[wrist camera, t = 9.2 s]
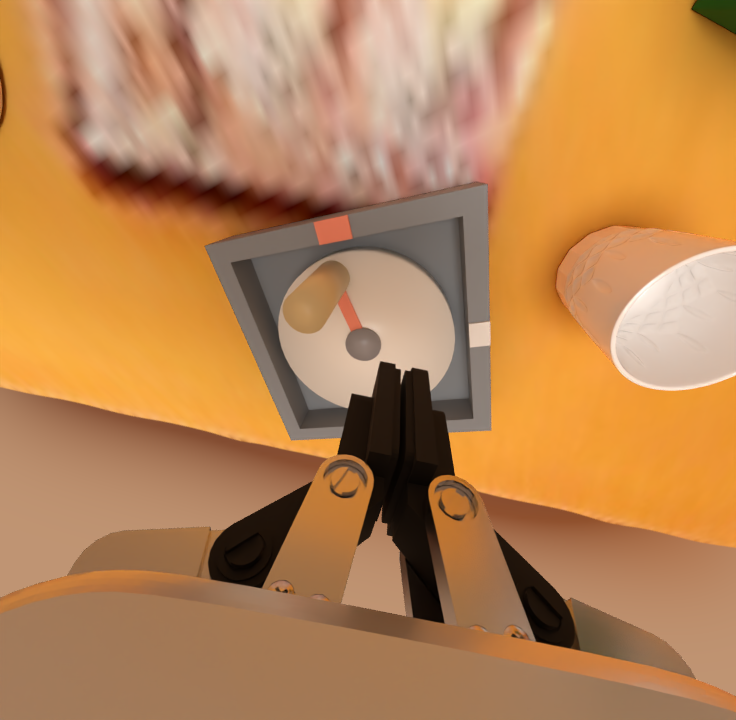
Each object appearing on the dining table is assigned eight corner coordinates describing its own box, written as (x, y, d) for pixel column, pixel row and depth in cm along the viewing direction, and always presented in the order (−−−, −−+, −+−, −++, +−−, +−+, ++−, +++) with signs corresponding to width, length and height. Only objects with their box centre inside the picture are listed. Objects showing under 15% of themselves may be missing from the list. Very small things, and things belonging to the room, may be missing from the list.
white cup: (582, 336, 27) (656, 413, 18) (525, 273, 25) (580, 327, 16) (685, 269, 23) (839, 327, 15) (629, 189, 21) (768, 203, 13)
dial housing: (303, 415, 36) (290, 441, 33) (231, 236, 27) (203, 246, 23) (483, 402, 32) (491, 431, 28) (477, 181, 22) (488, 184, 19)
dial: (471, 378, 29) (489, 452, 21) (330, 412, 34) (304, 482, 26) (421, 214, 22) (422, 237, 15) (255, 284, 27) (191, 329, 20)
